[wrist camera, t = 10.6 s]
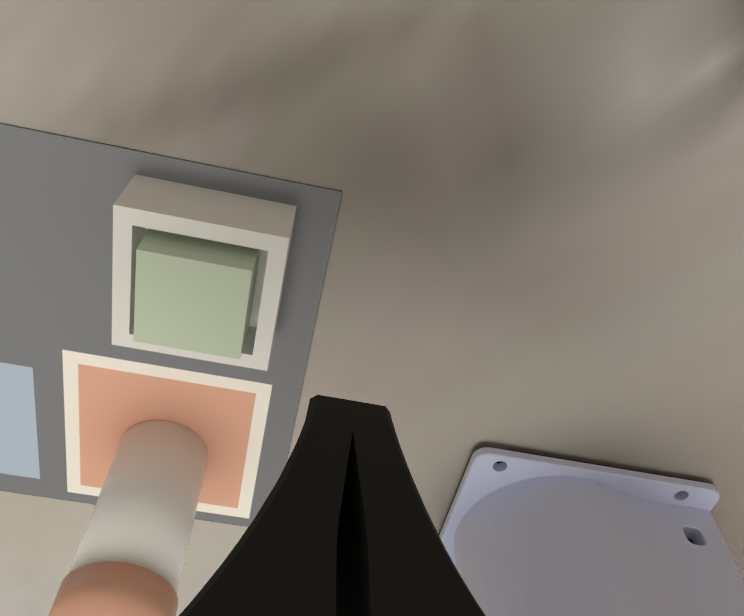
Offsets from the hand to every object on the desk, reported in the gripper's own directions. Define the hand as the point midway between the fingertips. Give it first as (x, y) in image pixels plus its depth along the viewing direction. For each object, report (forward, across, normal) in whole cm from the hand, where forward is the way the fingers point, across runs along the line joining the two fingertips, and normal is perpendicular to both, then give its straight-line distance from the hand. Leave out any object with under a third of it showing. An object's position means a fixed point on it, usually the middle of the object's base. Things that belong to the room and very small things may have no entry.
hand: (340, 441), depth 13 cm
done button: (+8, +4, +2) cm, 10 cm away
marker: (+9, +5, +11) cm, 15 cm away
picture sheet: (+9, +8, +7) cm, 14 cm away
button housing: (+9, +4, +2) cm, 11 cm away
